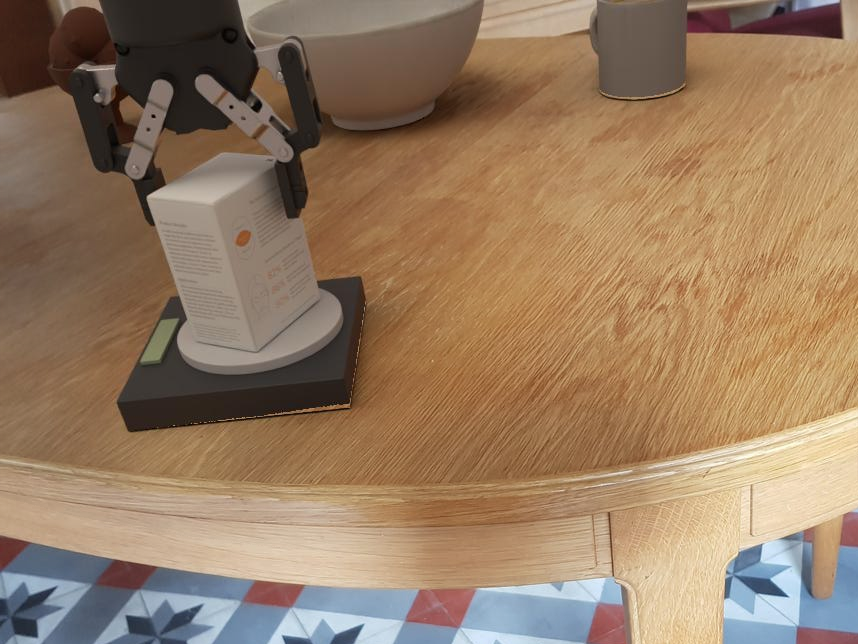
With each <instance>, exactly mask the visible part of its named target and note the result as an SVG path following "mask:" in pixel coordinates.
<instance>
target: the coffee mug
mask: <svg viewBox="0 0 858 644" xmlns="http://www.w3.org/2000/svg"><path fill="white" fill-rule="evenodd" d="M588 29H589V31H588V32H589V40H590V43H591V47H592V50H593V51H594V53H595V54H596V55H597V57H598V58H597V59H598V62H597V63H598V90H599V89H600V90H601V92H603V93H605V94H608V95H612V96H617V97H630V98H631V97H645V96H646V97H647V96H654V95H660V94H664V93H667V92H671V91H673V90H676V89H678V88H680V87H681V86H683V84H684V83H685V81H687V38H688V37H687V36H688V0H596V6H595V8H593V10H592V11H591V13H590V16H589V25H588Z"/></svg>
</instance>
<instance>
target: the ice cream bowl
mask: <svg viewBox="0 0 858 644" xmlns="http://www.w3.org/2000/svg"><path fill="white" fill-rule="evenodd" d="M47 50H48V56H49V60H50V62H49V64H48V65H47V67H46V70H47V71H48V74H49V75H50V77H51V78H52V80H53V82H54V83H55V84H56V86H58V87H59V88H60V89H61V91H63V92H65V93H66V94H67V95H69V96H71V97H73V96H72V93H71V90H70V86H69V83H68V77H69V75H70V74H71V73H72V72H73V71H74V70H75V69H76V68H77V67H78V66H80V65H81V64H83V63H84V62H86V61H91V62H94V63H95V64H97V65H98V66H100V65H115V64H116V50H115V47H114V45H113V42H112V40H111V37H110V34H109V31H108V28H107V25H106V21H105V18H104V15H103V12H102V11H100V10H99V9H97V8H95V7H90V6H87V5H85V6H77V7H74V8H71V9H69V10H68V11H67V12H66V13H65V14H64V16H63V18H62V20H61V23H60V24H59V26H58V27H56V29H55V30H54V31H53V33H52V34H51V36H50V37H49V44H48V49H47ZM115 92H116V95H115V98H114V99H113V100H112V101H111V102H110V105H111V108H112V112H113V115H114V119H115V122H116V126H117V129H118V133H119V136H120V140H121V143H122V145H123V144H127V143H130V142H134V141H133V140H134V136H135V134H136V131H137V128H138V126H137V125H134V124H131V123H128V122H126V121H124V118H123V115H122V112H121V110H120V108H121V107H120V106H121V102H123V100H125V99H127V98H128V97H130V96H129V95H128V94H127V93H126V92H125V91H124V90H123V89H122V88H121V87H120V86H119V84H117V85H116V86H115Z"/></svg>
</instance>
